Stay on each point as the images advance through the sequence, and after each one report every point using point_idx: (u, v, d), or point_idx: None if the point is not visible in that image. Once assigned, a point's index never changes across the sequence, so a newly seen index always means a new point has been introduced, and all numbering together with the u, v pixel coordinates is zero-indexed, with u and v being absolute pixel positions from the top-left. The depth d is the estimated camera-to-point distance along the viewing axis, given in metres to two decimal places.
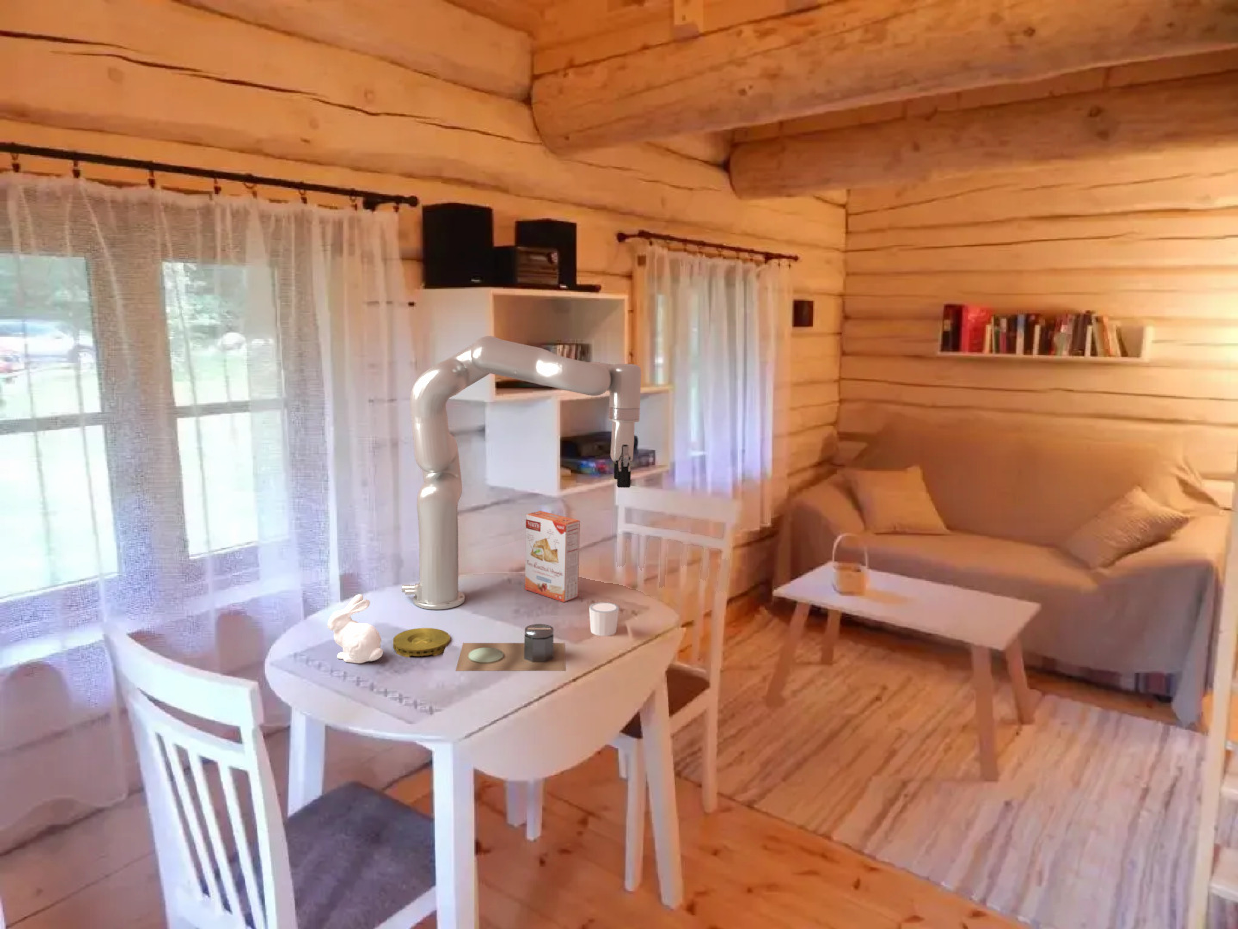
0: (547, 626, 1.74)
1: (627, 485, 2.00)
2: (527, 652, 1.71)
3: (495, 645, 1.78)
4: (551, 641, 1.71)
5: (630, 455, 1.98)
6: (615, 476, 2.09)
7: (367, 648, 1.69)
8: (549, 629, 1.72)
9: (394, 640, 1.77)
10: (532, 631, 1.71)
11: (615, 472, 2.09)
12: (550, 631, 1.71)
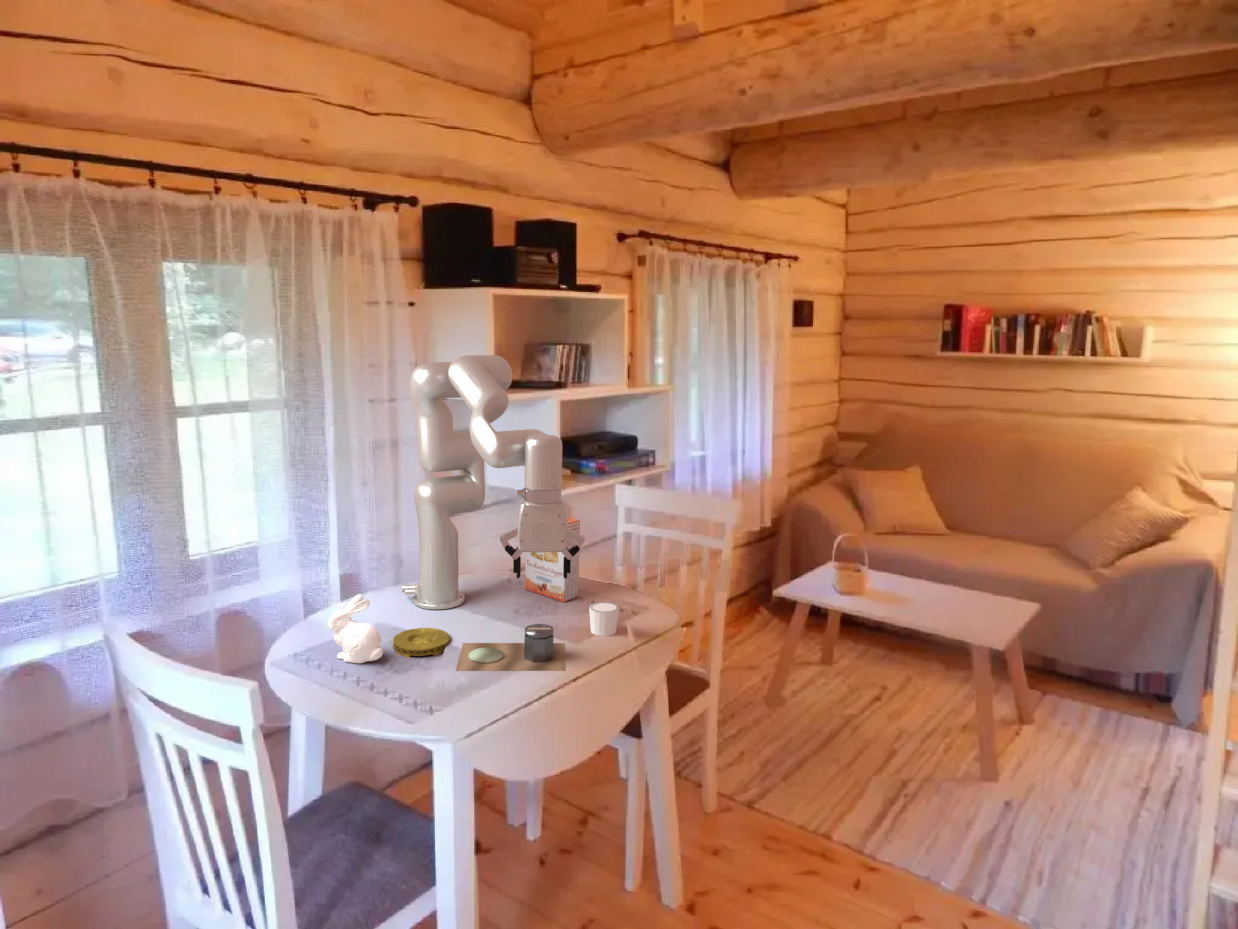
0: (547, 626, 1.74)
1: None
2: (527, 652, 1.71)
3: (495, 645, 1.78)
4: (551, 641, 1.71)
5: None
6: (519, 574, 1.69)
7: (367, 648, 1.69)
8: (549, 629, 1.72)
9: (394, 640, 1.77)
10: (532, 631, 1.71)
11: (519, 570, 1.69)
12: (550, 631, 1.71)
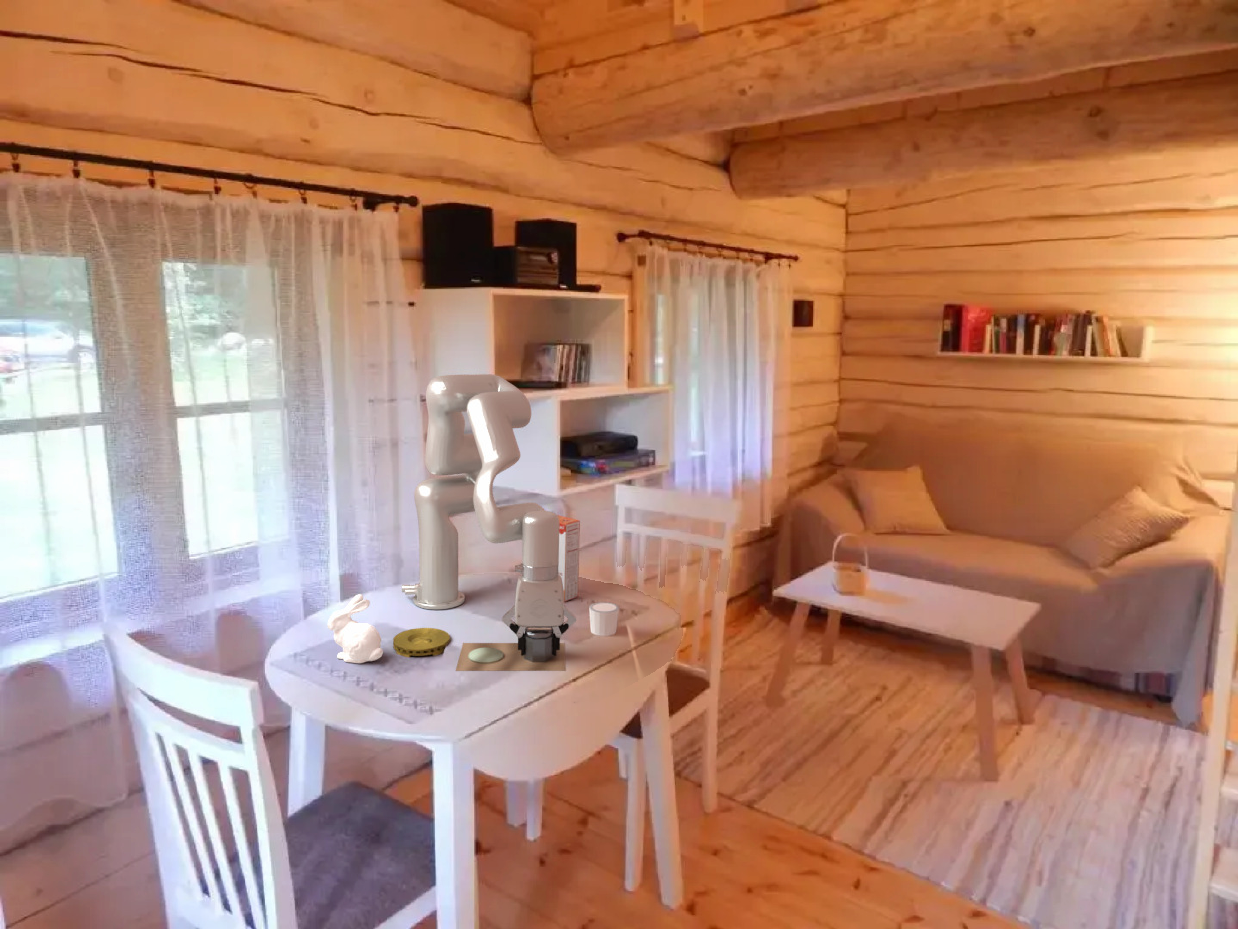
0: None
1: None
2: (527, 652, 1.71)
3: (495, 645, 1.78)
4: (551, 641, 1.71)
5: None
6: None
7: (367, 648, 1.69)
8: (549, 629, 1.72)
9: (394, 640, 1.77)
10: (532, 631, 1.71)
11: (524, 647, 1.71)
12: (550, 631, 1.71)
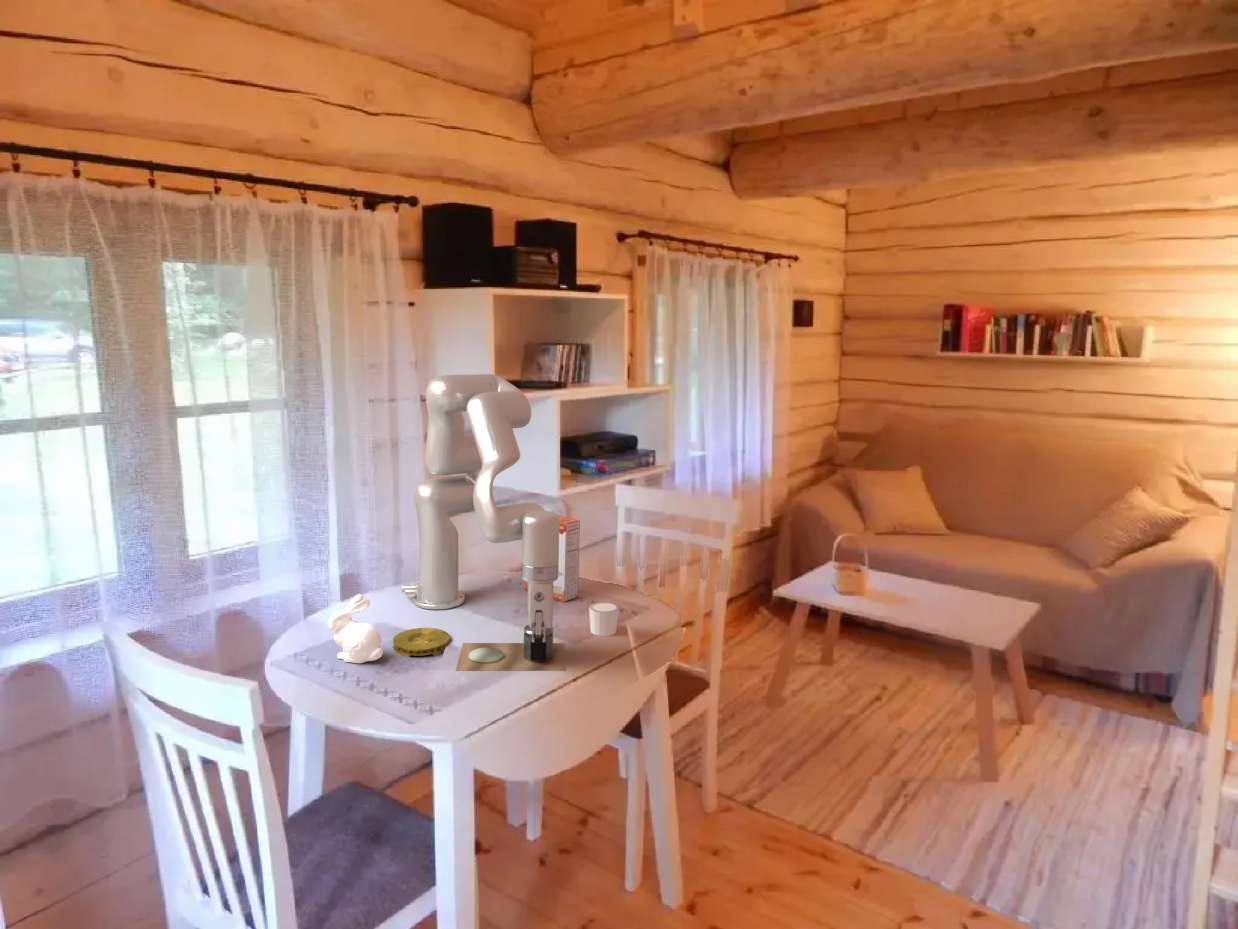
0: None
1: None
2: (546, 652, 1.71)
3: (495, 645, 1.78)
4: None
5: None
6: None
7: (367, 648, 1.69)
8: None
9: (394, 640, 1.77)
10: (545, 630, 1.71)
11: None
12: None
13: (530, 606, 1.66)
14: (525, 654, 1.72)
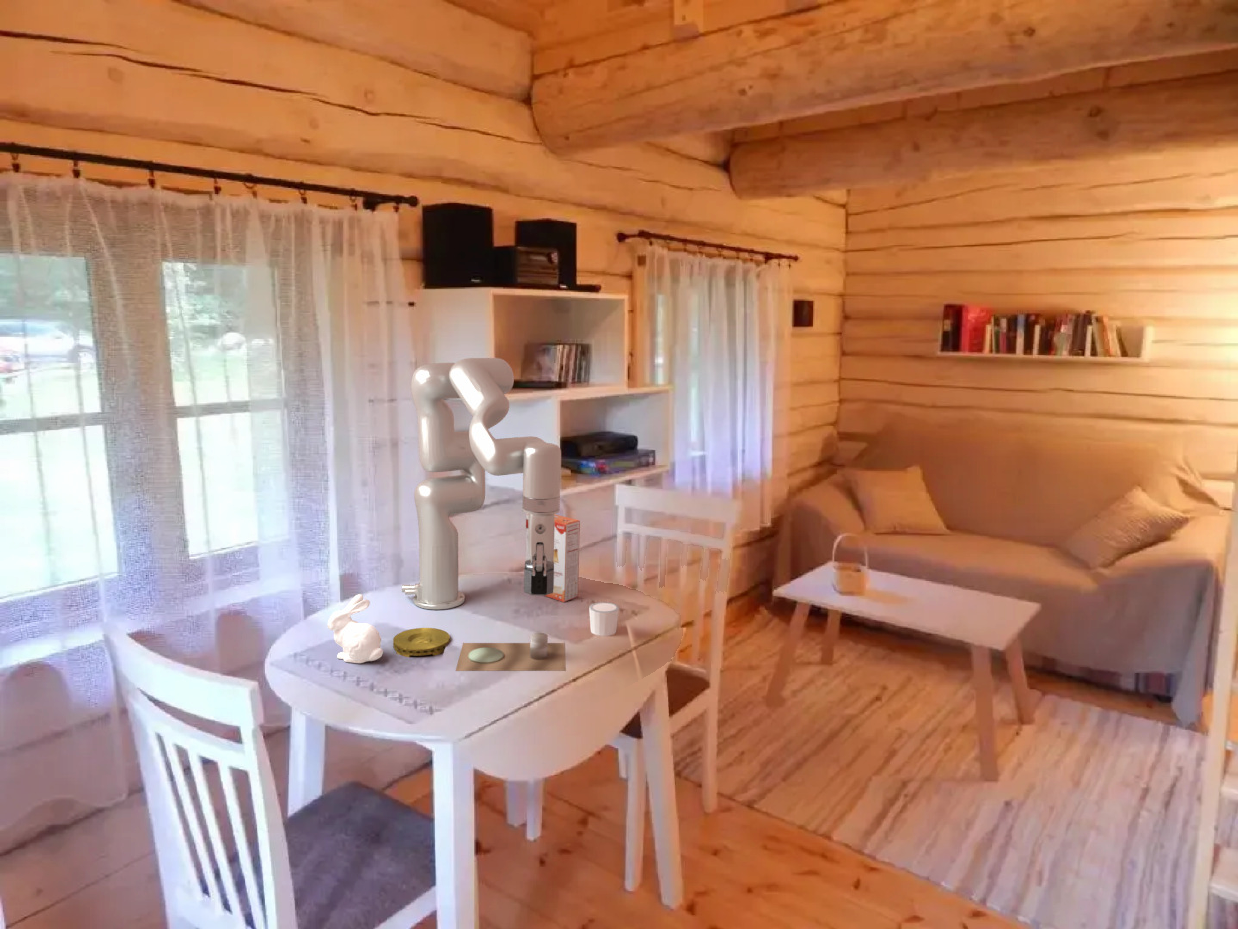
0: None
1: None
2: (547, 586, 1.68)
3: (495, 645, 1.78)
4: None
5: None
6: None
7: (367, 648, 1.69)
8: None
9: (394, 640, 1.78)
10: None
11: None
12: None
13: (531, 538, 1.64)
14: (525, 589, 1.69)
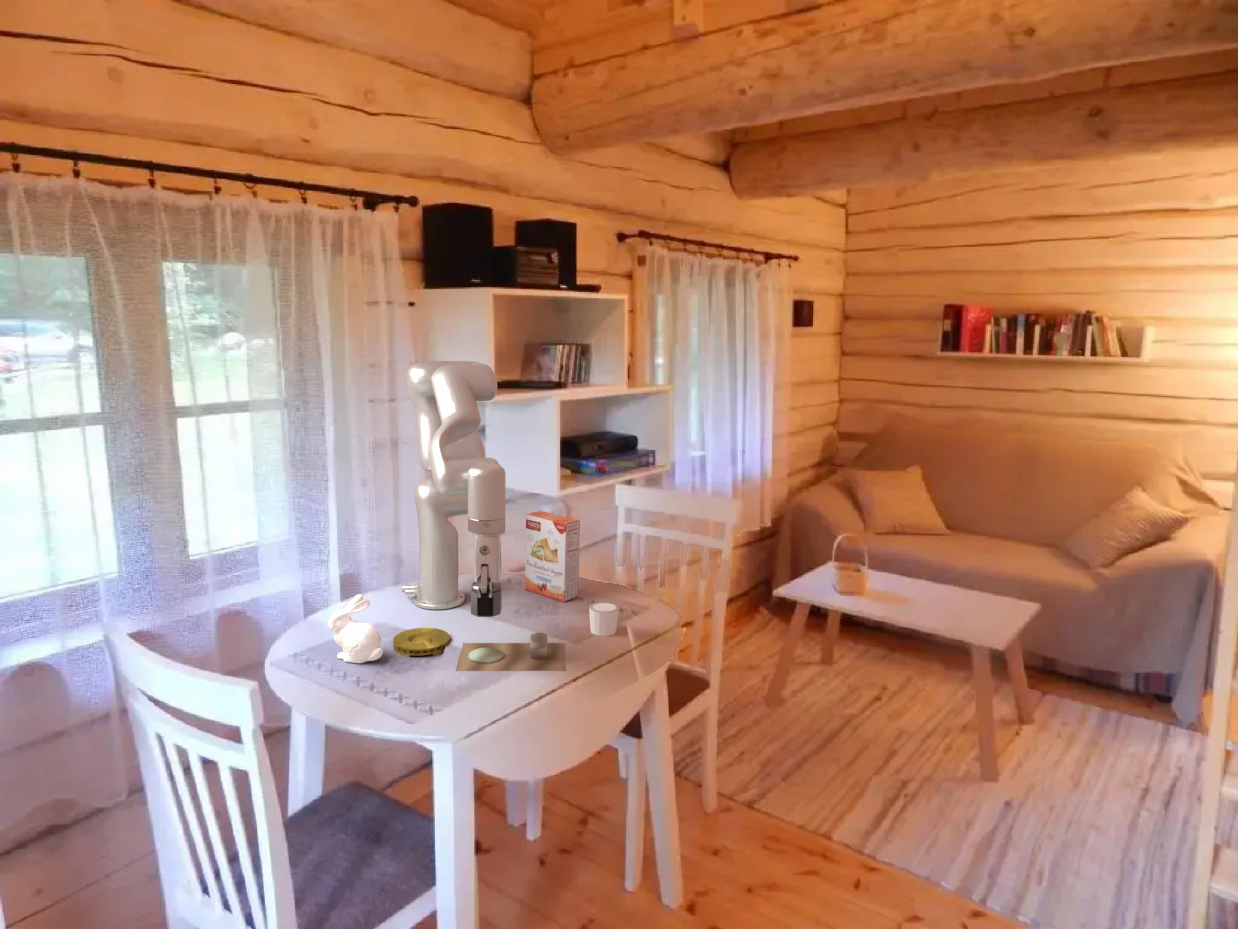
0: None
1: None
2: (494, 608, 1.68)
3: (495, 645, 1.78)
4: None
5: None
6: None
7: (367, 648, 1.69)
8: (488, 580, 1.71)
9: (394, 640, 1.78)
10: (492, 586, 1.68)
11: None
12: None
13: (475, 560, 1.63)
14: (472, 610, 1.69)
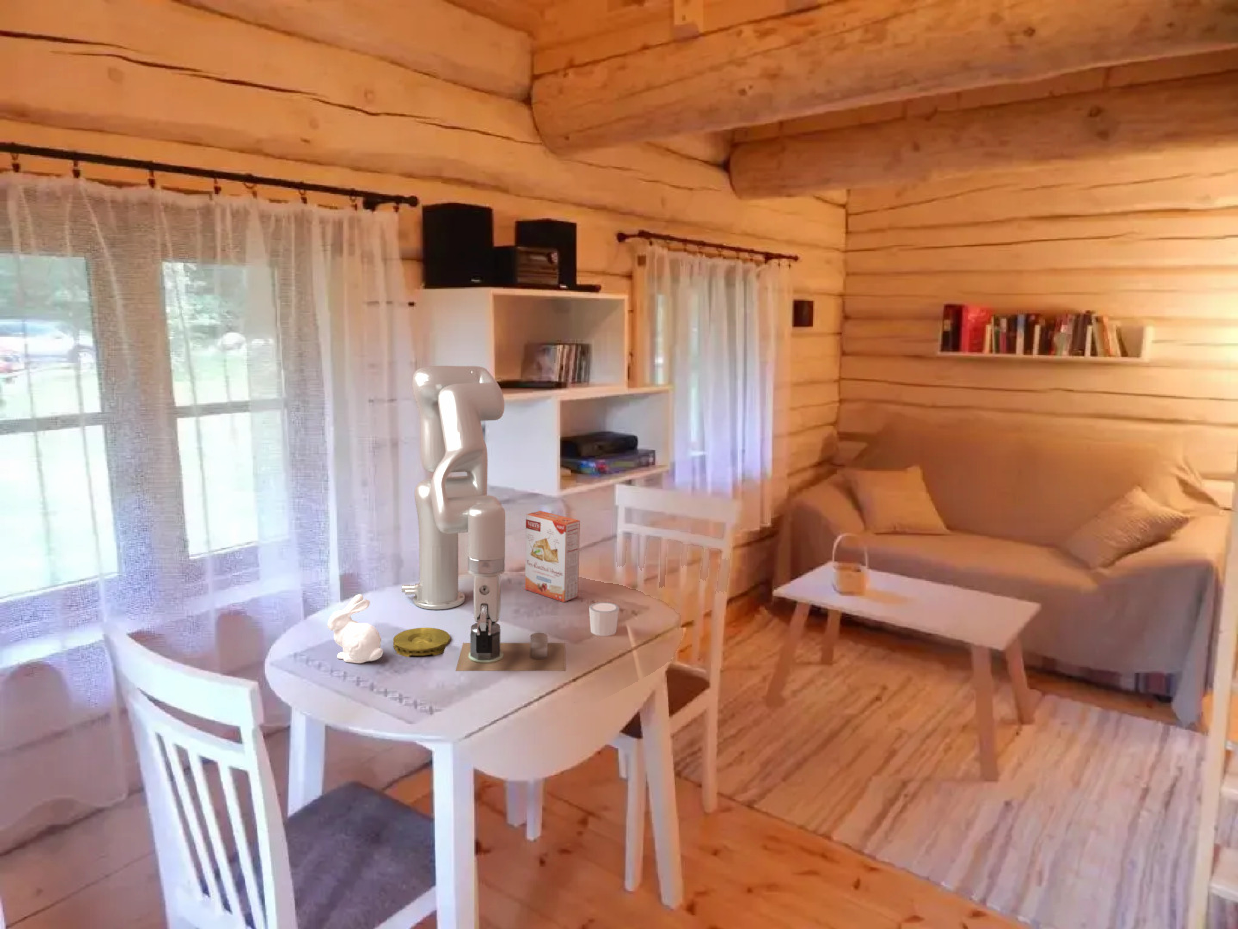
0: None
1: None
2: (493, 651, 1.70)
3: None
4: None
5: None
6: None
7: (367, 648, 1.69)
8: None
9: (394, 640, 1.78)
10: (491, 629, 1.70)
11: None
12: (492, 622, 1.74)
13: (475, 599, 1.65)
14: (472, 653, 1.71)
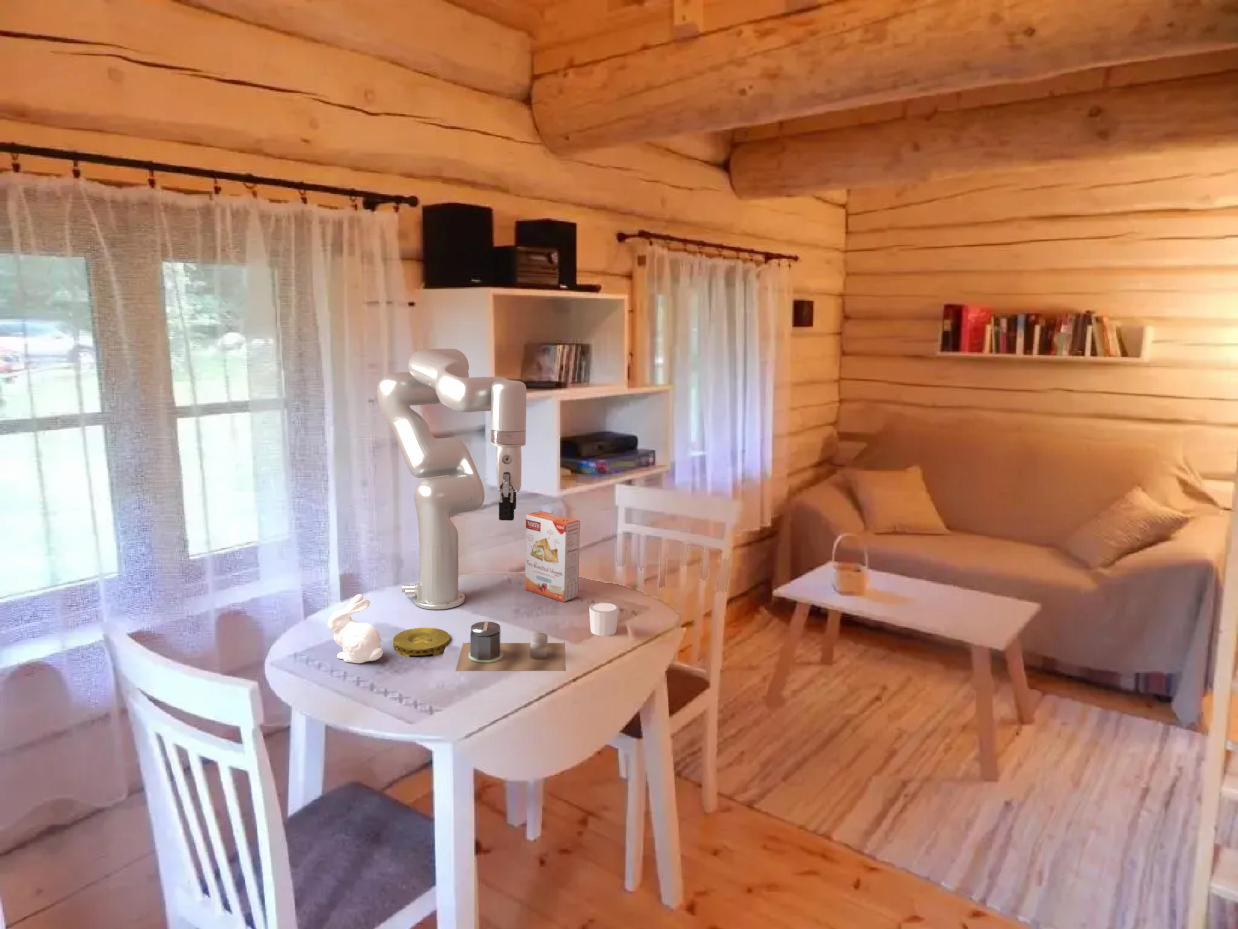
0: (478, 623, 1.73)
1: None
2: (493, 651, 1.70)
3: None
4: None
5: None
6: None
7: (367, 648, 1.69)
8: (487, 622, 1.74)
9: (394, 639, 1.78)
10: (491, 629, 1.70)
11: None
12: (492, 622, 1.74)
13: (498, 468, 1.75)
14: (472, 653, 1.71)
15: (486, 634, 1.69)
